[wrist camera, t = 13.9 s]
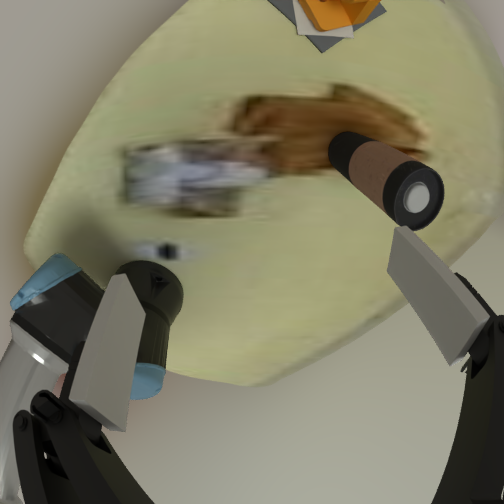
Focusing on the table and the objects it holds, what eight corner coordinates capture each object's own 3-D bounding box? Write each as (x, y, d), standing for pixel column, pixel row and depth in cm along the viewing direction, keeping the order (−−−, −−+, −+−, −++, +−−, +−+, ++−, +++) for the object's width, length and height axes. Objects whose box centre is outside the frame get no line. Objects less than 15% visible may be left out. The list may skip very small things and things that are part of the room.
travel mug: (362, 125, 38) (444, 159, 22) (371, 166, 42) (445, 219, 26) (321, 137, 39) (389, 178, 22) (332, 179, 43) (395, 241, 27)
